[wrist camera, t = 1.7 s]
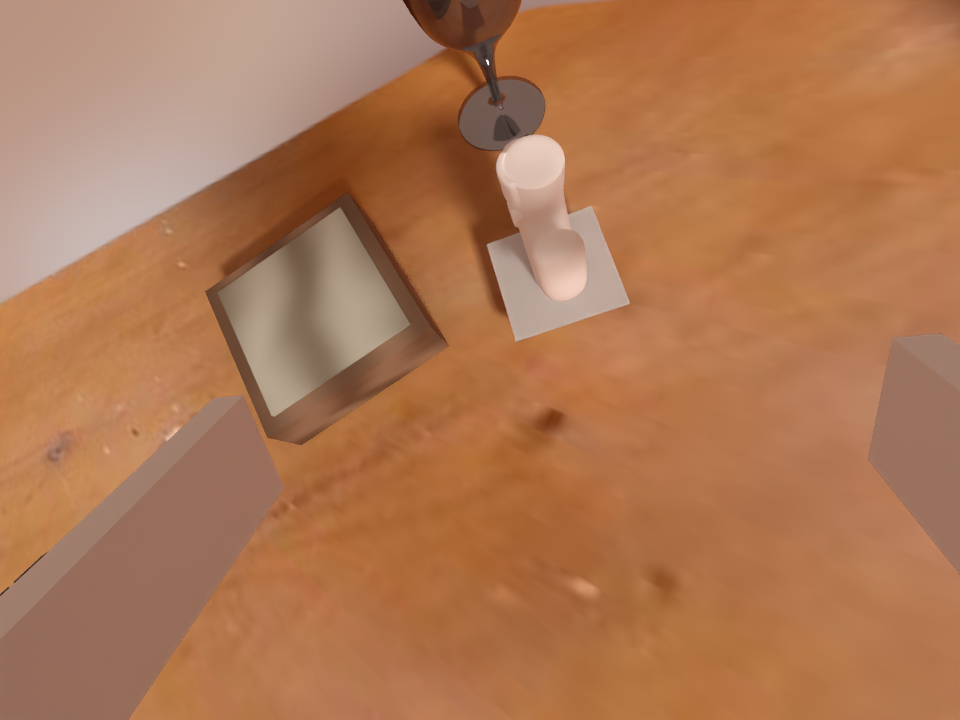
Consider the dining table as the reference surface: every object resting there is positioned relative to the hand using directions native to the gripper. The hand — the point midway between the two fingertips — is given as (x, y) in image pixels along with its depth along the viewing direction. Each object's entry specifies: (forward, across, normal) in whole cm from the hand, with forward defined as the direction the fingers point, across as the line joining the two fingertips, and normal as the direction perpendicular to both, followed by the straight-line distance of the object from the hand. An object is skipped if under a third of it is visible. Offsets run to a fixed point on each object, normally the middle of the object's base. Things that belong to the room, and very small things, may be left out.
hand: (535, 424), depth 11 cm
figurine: (+26, 0, -7) cm, 27 cm away
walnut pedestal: (+25, -17, -8) cm, 32 cm away
